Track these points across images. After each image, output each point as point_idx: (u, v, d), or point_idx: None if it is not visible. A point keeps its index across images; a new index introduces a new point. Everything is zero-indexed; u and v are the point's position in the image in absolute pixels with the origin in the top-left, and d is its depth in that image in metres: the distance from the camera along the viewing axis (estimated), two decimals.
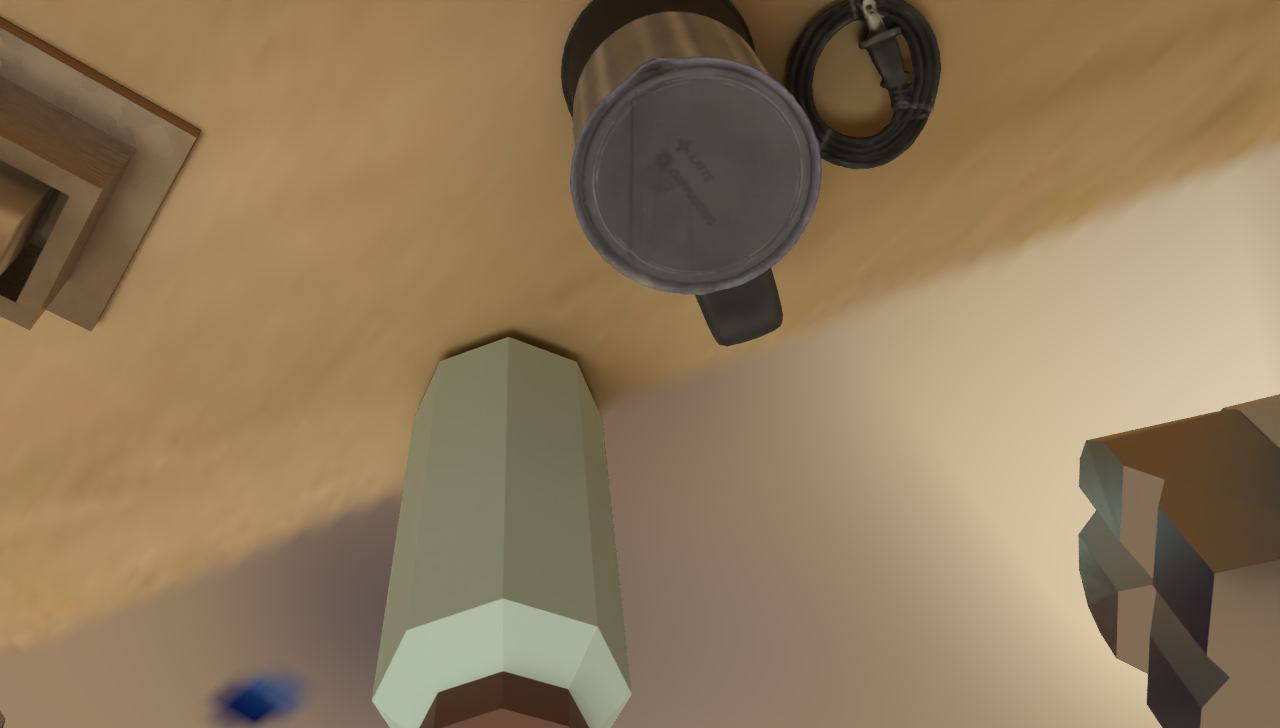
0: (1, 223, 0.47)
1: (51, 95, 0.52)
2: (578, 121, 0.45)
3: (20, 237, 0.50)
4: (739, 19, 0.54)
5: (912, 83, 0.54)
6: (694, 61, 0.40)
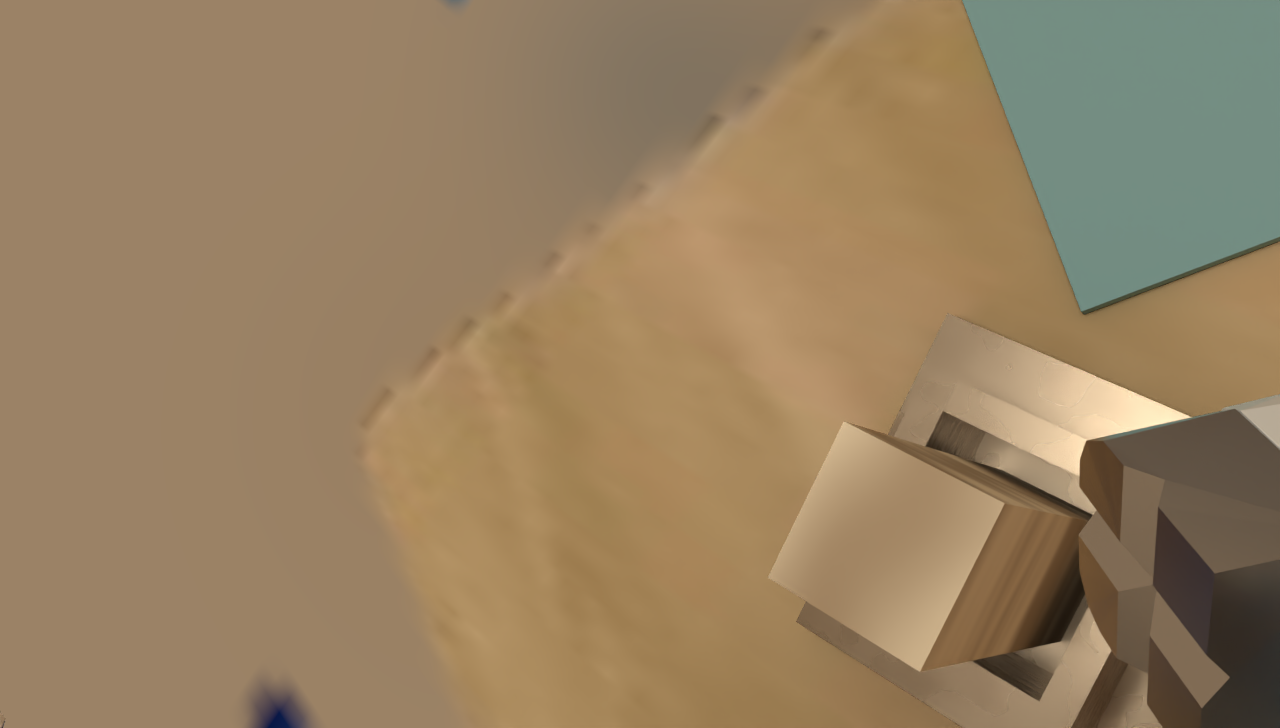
0: (1003, 641, 0.30)
1: None
2: None
3: None
4: None
5: None
6: None
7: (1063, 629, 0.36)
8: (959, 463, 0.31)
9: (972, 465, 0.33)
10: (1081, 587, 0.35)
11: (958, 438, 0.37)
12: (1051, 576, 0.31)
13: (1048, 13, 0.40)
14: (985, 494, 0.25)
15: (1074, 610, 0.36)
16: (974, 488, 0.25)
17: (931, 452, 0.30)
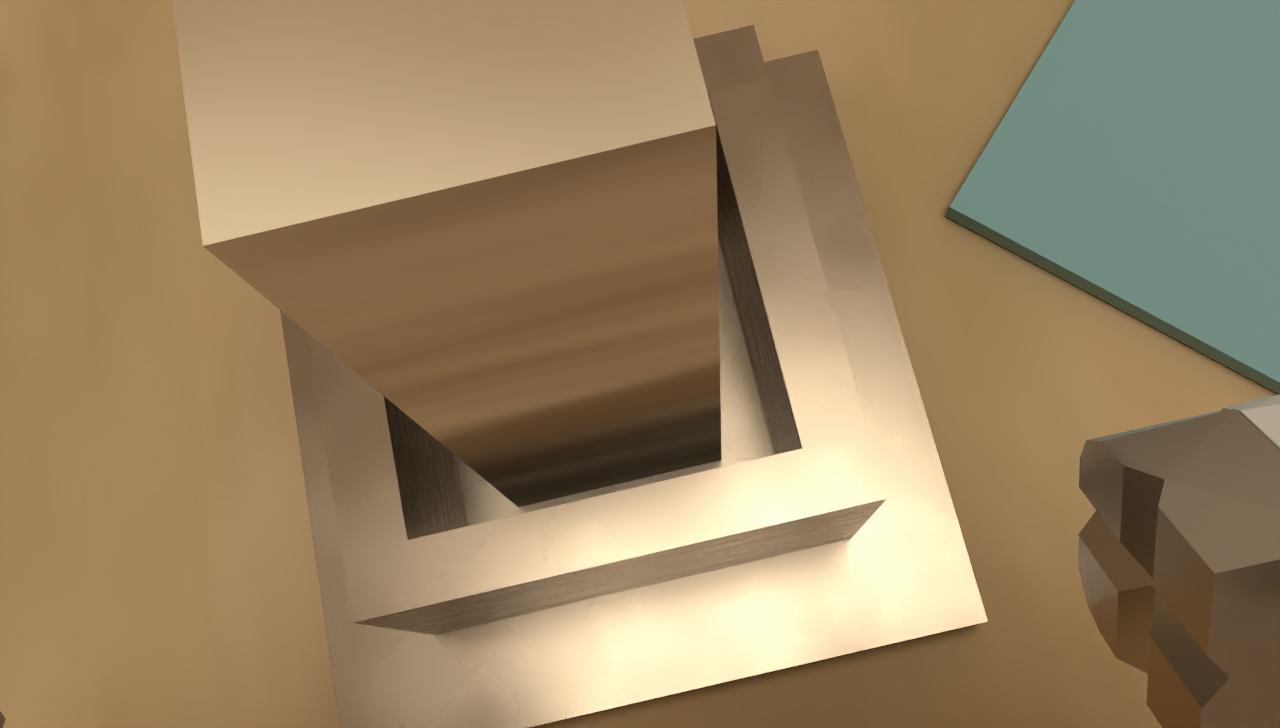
0: (445, 412, 0.15)
1: (649, 604, 0.22)
2: None
3: None
4: None
5: None
6: None
7: (536, 497, 0.22)
8: None
9: None
10: (610, 474, 0.21)
11: None
12: (602, 410, 0.17)
13: None
14: (700, 74, 0.09)
15: (572, 491, 0.22)
16: (692, 47, 0.09)
17: None
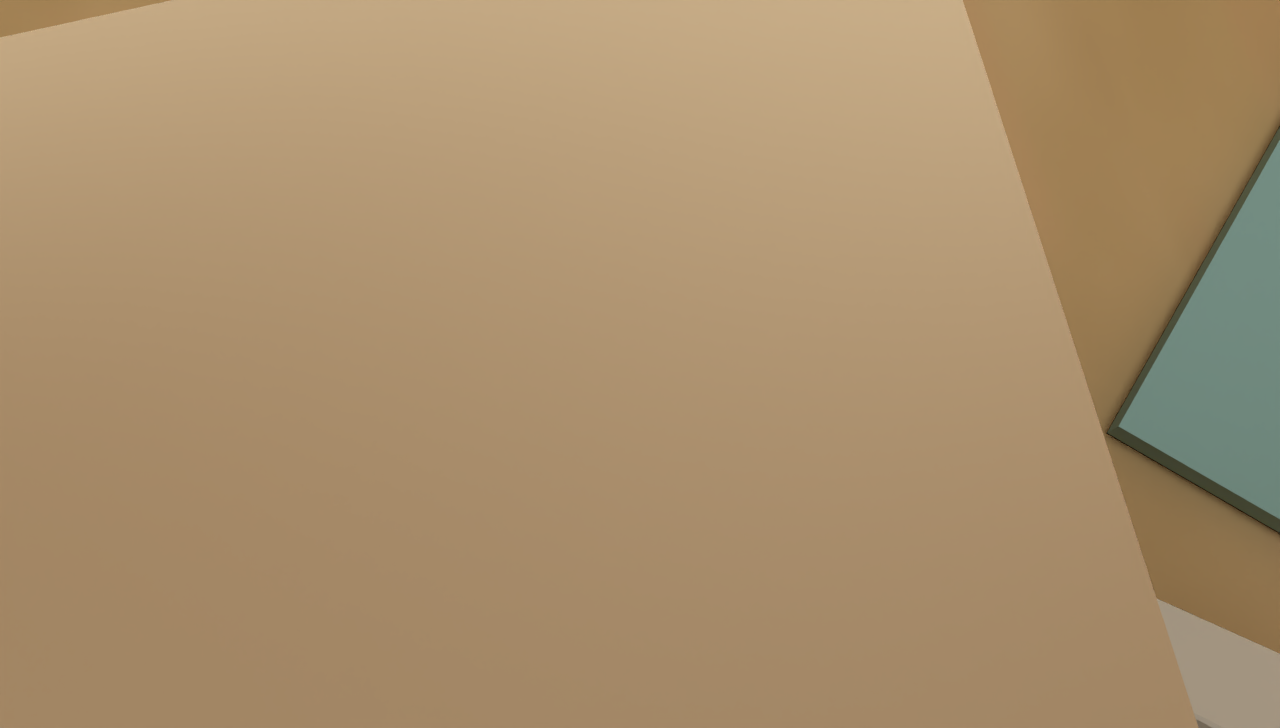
0: None
1: None
2: None
3: None
4: None
5: None
6: None
7: None
8: None
9: None
10: None
11: None
12: None
13: None
14: None
15: None
16: None
17: None
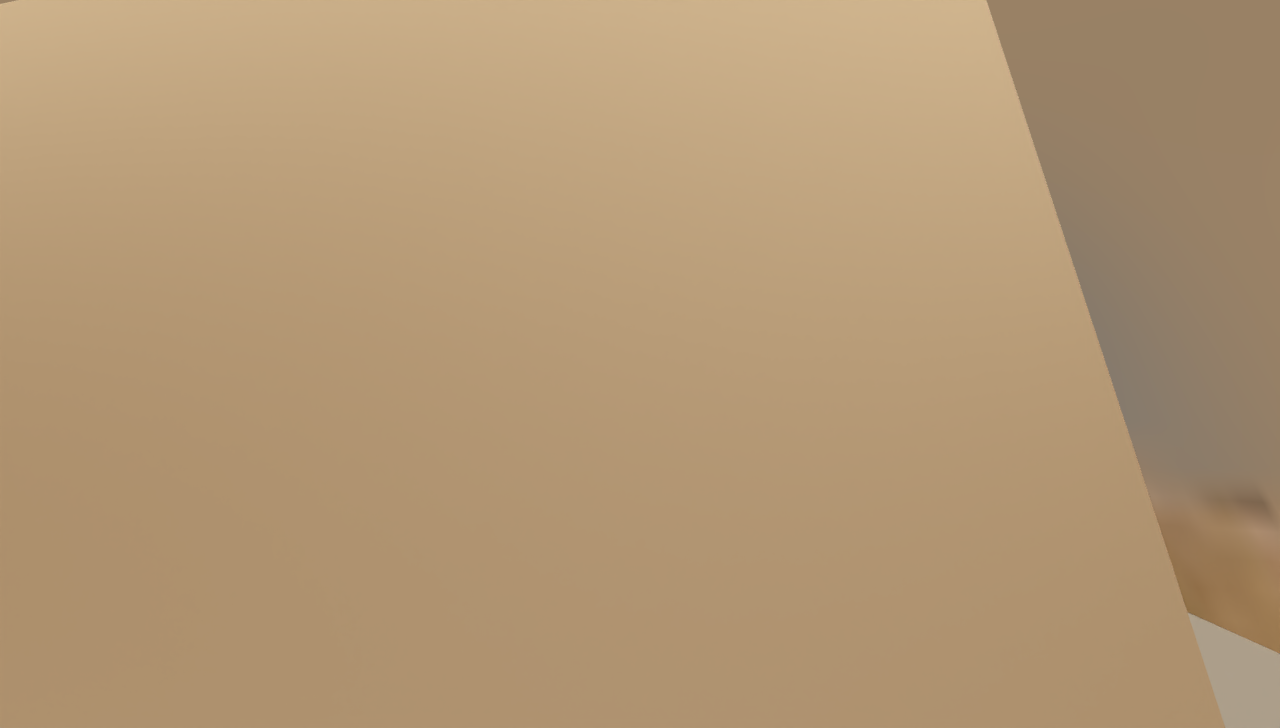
0: None
1: None
2: None
3: None
4: None
5: None
6: None
7: None
8: None
9: None
10: None
11: None
12: None
13: None
14: None
15: None
16: None
17: None
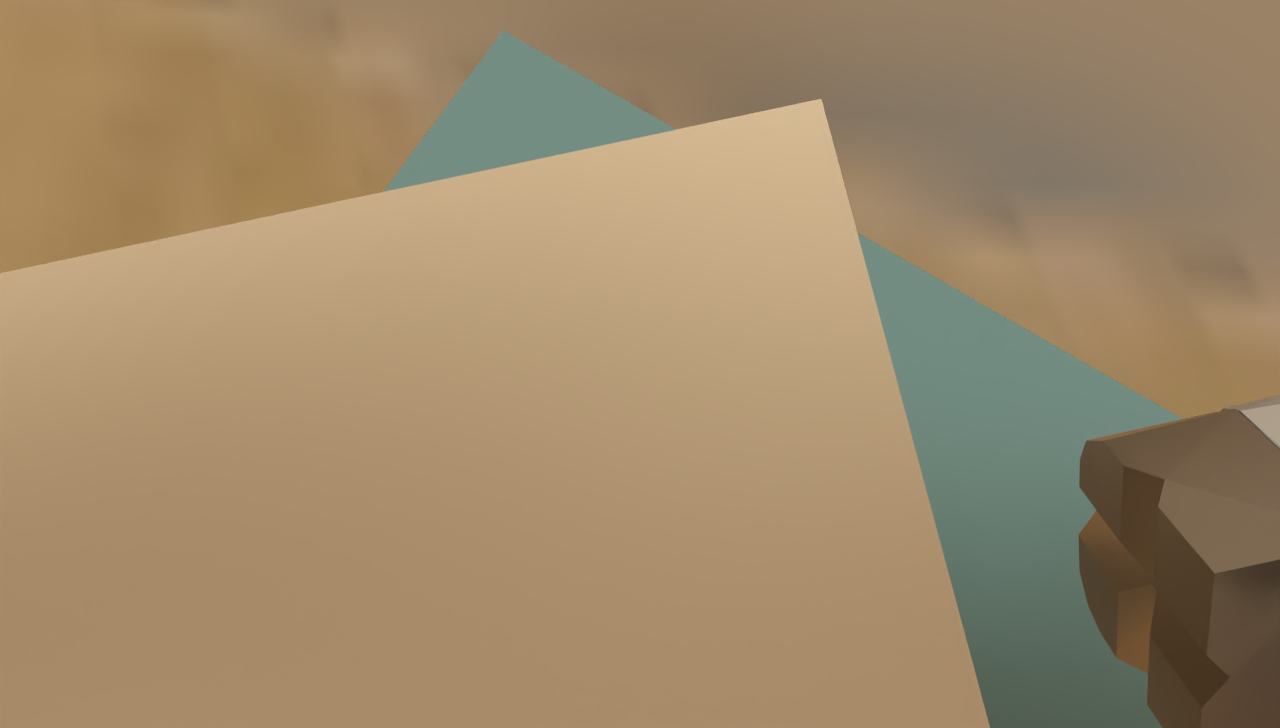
0: None
1: None
2: None
3: None
4: None
5: None
6: None
7: None
8: None
9: None
10: None
11: None
12: None
13: None
14: None
15: None
16: None
17: None
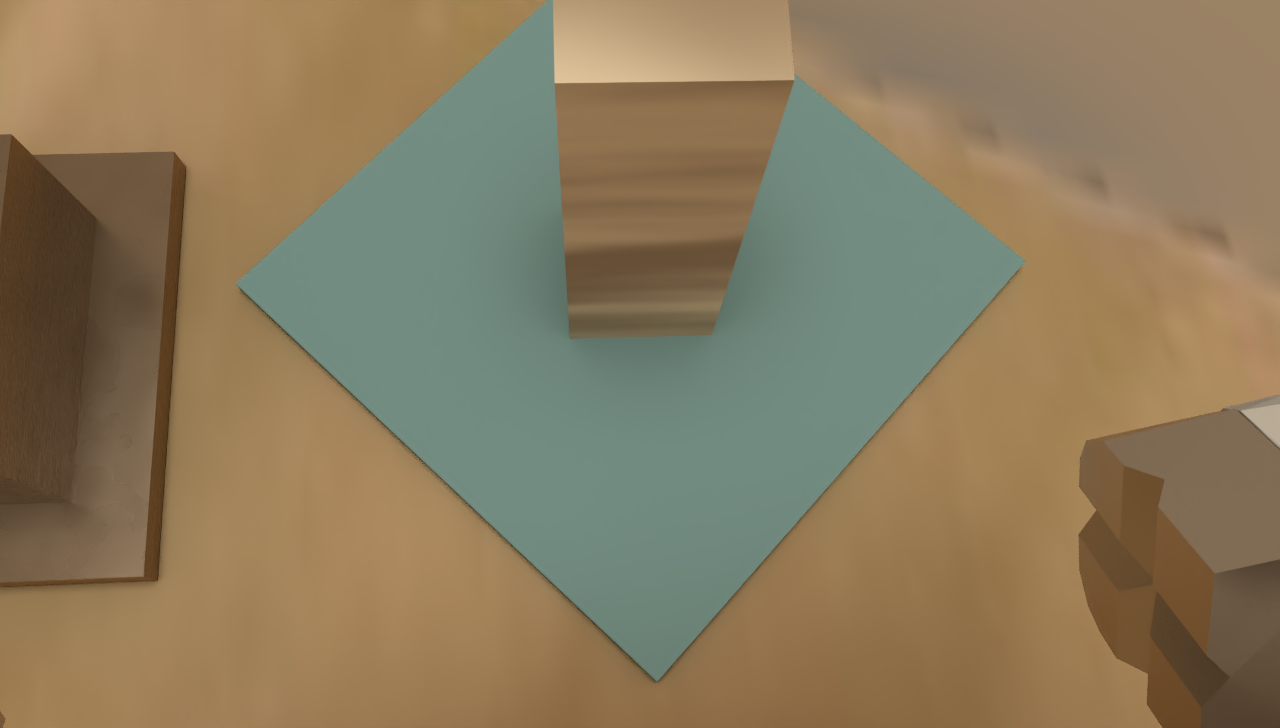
0: (582, 230, 0.25)
1: None
2: None
3: None
4: None
5: None
6: None
7: (585, 332, 0.32)
8: None
9: None
10: (639, 324, 0.32)
11: None
12: (663, 258, 0.27)
13: (553, 99, 0.35)
14: (791, 56, 0.20)
15: (609, 334, 0.32)
16: (789, 44, 0.20)
17: None
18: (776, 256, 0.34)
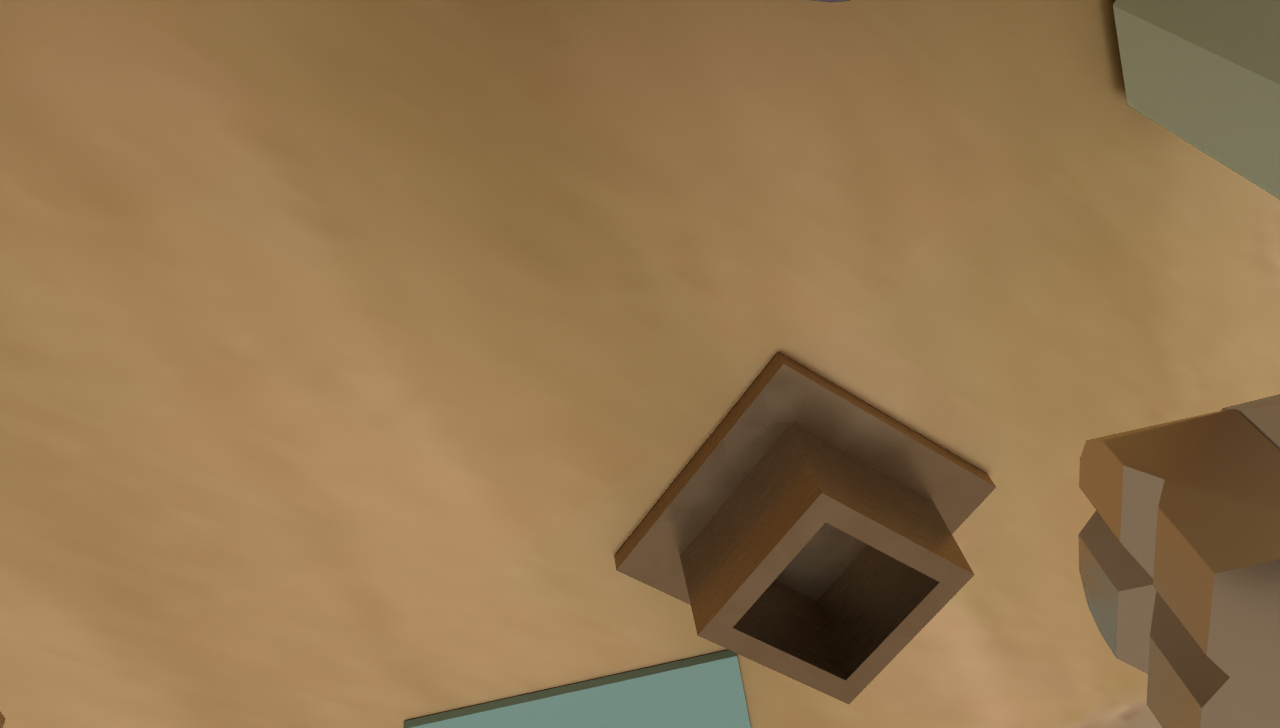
0: None
1: (727, 488, 0.49)
2: None
3: None
4: None
5: None
6: None
7: None
8: None
9: None
10: None
11: (838, 628, 0.51)
12: None
13: None
14: None
15: None
16: None
17: None
18: None
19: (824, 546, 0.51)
